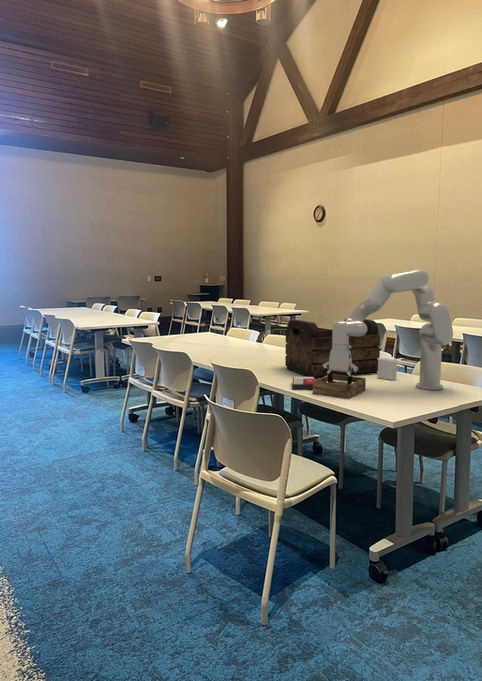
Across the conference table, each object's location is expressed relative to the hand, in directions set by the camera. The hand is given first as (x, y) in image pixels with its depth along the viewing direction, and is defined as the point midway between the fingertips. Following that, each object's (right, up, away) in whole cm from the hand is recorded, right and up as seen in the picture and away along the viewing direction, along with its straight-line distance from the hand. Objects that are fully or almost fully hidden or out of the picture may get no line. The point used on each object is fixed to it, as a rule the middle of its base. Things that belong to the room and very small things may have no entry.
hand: (339, 383), depth 226 cm
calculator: (-15, -4, +12) cm, 20 cm away
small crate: (0, -3, 0) cm, 3 cm away
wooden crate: (+6, +2, +52) cm, 52 cm away
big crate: (0, -4, +1) cm, 4 cm away
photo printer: (+31, -1, +30) cm, 43 cm away
